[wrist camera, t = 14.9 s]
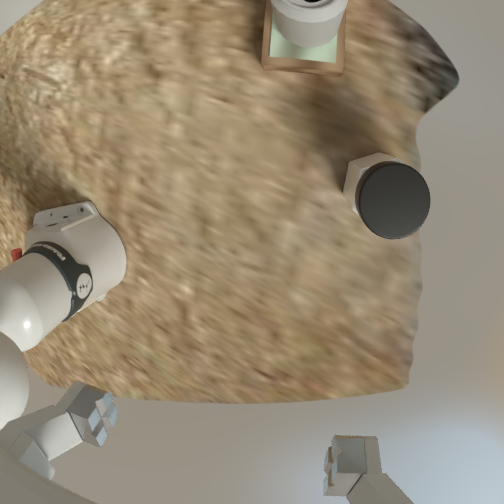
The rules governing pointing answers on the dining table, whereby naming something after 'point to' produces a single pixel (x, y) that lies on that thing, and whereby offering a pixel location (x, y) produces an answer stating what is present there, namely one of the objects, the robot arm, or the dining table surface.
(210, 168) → the dining table surface
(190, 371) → the dining table surface
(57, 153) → the dining table surface
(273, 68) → the picture frame
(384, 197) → the jar
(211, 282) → the dining table surface
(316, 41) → the can
